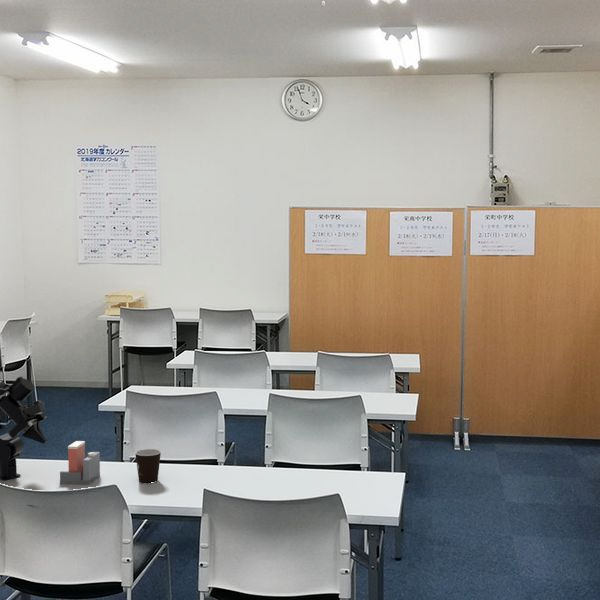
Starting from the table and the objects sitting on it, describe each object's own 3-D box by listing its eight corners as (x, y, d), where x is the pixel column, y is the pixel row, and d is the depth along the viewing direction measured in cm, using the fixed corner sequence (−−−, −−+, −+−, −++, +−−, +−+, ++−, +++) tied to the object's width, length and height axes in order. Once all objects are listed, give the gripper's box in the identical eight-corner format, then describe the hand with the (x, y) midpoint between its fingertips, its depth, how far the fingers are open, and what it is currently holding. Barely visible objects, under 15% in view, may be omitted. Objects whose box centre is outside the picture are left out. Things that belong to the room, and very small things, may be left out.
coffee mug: (158, 484, 260) (157, 455, 259) (132, 484, 260) (132, 455, 259) (164, 474, 271) (164, 446, 271) (140, 474, 272) (140, 446, 271)
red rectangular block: (68, 477, 262) (67, 446, 261) (76, 471, 269) (76, 440, 268) (77, 477, 261) (76, 446, 260) (85, 471, 268) (85, 441, 267)
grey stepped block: (59, 483, 261) (59, 456, 260) (71, 474, 270) (71, 448, 270) (89, 484, 259) (89, 457, 259) (100, 475, 269) (100, 449, 269)
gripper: (17, 399, 255) (49, 433, 255) (41, 389, 274) (71, 421, 274) (-5, 421, 257) (27, 455, 256) (20, 410, 275) (50, 442, 275)
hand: (45, 442), depth 265 cm, fingers closed
